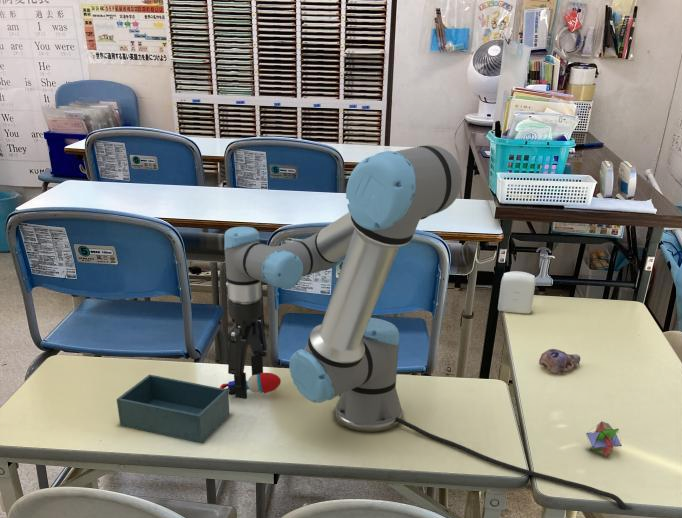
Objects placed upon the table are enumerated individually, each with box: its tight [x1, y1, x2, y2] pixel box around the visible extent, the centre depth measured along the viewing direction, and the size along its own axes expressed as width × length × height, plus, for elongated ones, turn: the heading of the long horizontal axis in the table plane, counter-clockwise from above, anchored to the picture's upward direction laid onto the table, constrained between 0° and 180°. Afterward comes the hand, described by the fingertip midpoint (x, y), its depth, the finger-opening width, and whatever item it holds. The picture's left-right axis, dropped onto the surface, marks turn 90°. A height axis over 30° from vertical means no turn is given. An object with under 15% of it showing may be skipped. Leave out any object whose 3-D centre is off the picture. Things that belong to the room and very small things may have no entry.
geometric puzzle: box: [585, 420, 623, 459], centre depth 165 cm, size 7×7×8 cm
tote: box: [116, 374, 231, 444], centre depth 172 cm, size 20×13×7 cm, turn 71°
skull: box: [538, 348, 581, 375], centre depth 201 cm, size 12×8×6 cm, turn 107°
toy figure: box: [219, 372, 282, 396], centre depth 183 cm, size 8×5×15 cm
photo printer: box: [497, 270, 536, 315], centre depth 233 cm, size 10×4×12 cm, turn 78°
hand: (249, 389), depth 183 cm, fingers closed on toy figure, 8 cm apart
